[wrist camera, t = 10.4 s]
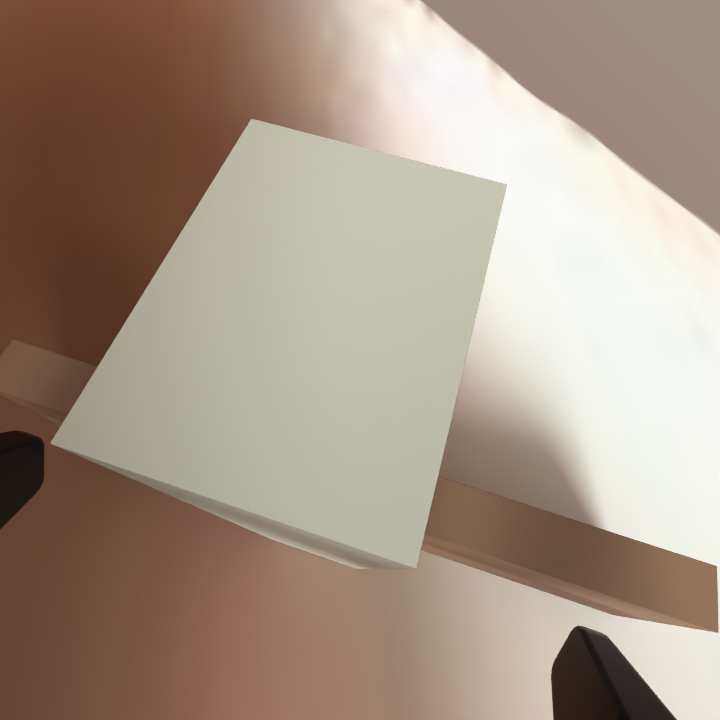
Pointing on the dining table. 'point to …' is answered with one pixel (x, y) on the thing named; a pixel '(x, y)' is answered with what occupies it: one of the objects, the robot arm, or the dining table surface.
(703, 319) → the dining table surface
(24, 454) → the robot arm
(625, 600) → the walnut slotted plate
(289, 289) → the sage plank
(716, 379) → the dining table surface
